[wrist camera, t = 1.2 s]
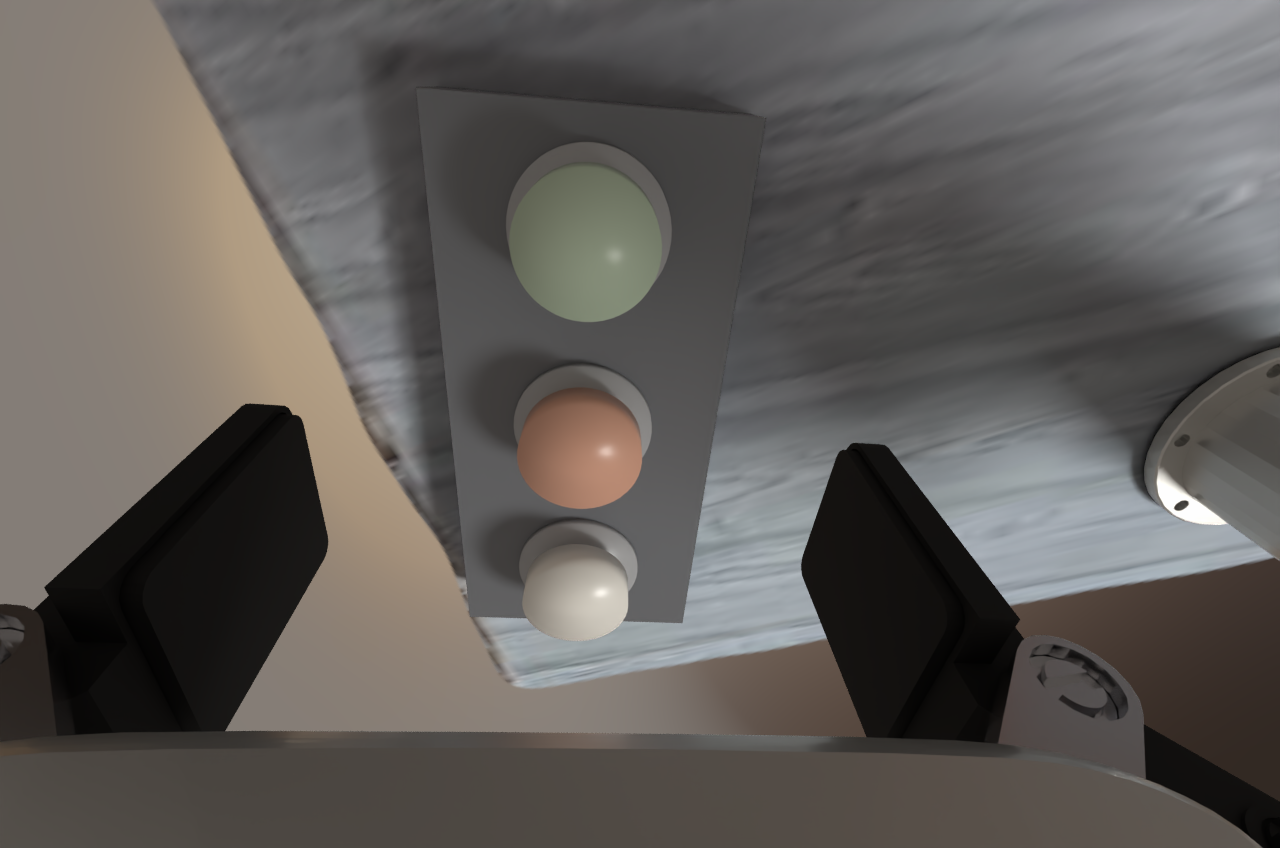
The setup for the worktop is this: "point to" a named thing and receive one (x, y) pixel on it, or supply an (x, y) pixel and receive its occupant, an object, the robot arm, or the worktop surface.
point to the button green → (586, 242)
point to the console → (583, 327)
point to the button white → (576, 592)
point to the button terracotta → (580, 448)
